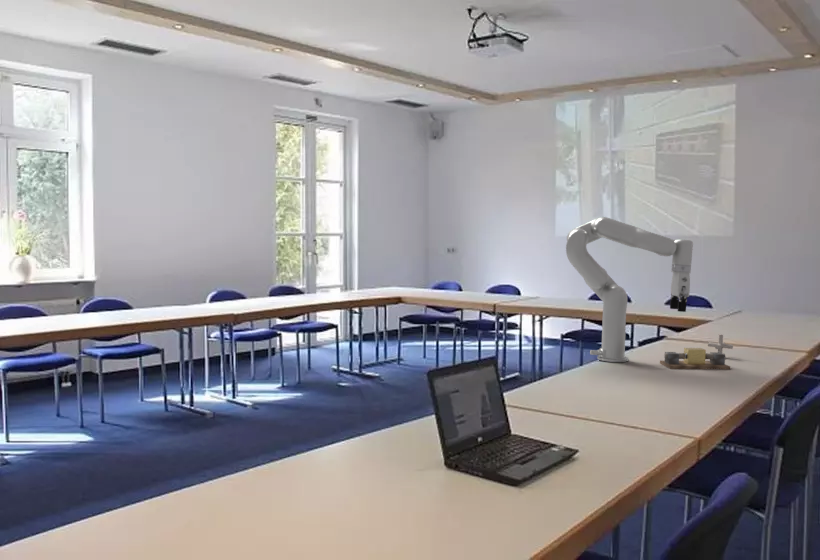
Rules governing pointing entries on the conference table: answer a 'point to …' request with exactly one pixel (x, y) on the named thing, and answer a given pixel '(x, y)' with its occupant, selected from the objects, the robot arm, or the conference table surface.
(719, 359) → the shaft stand
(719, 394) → the conference table surface
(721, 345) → the pipe connector
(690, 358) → the block
